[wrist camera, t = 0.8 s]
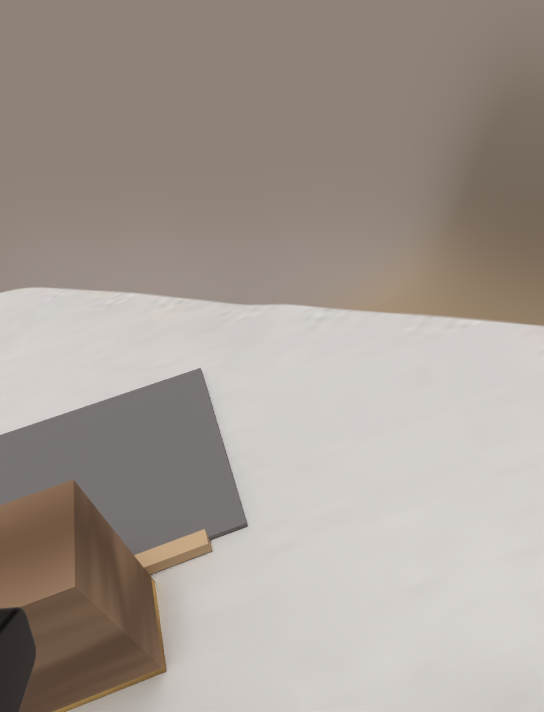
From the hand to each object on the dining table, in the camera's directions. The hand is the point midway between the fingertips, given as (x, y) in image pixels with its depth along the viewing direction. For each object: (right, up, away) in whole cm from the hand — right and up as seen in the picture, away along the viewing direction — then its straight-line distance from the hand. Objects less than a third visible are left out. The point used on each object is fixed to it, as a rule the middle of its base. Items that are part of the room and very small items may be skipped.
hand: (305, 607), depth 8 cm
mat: (-11, -3, +21) cm, 24 cm away
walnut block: (-8, -9, +14) cm, 19 cm away
